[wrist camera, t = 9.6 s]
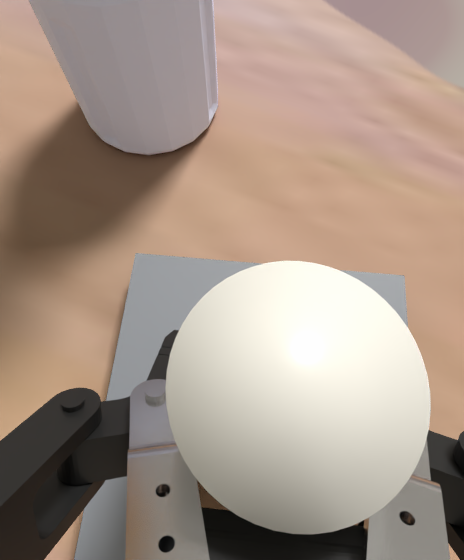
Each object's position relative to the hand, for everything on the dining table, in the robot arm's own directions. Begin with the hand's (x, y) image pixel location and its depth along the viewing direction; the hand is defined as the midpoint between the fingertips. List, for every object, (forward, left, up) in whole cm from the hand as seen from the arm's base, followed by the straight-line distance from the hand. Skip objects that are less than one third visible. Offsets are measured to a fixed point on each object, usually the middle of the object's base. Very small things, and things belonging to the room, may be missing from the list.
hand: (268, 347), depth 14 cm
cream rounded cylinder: (-1, -1, -6) cm, 6 cm away
